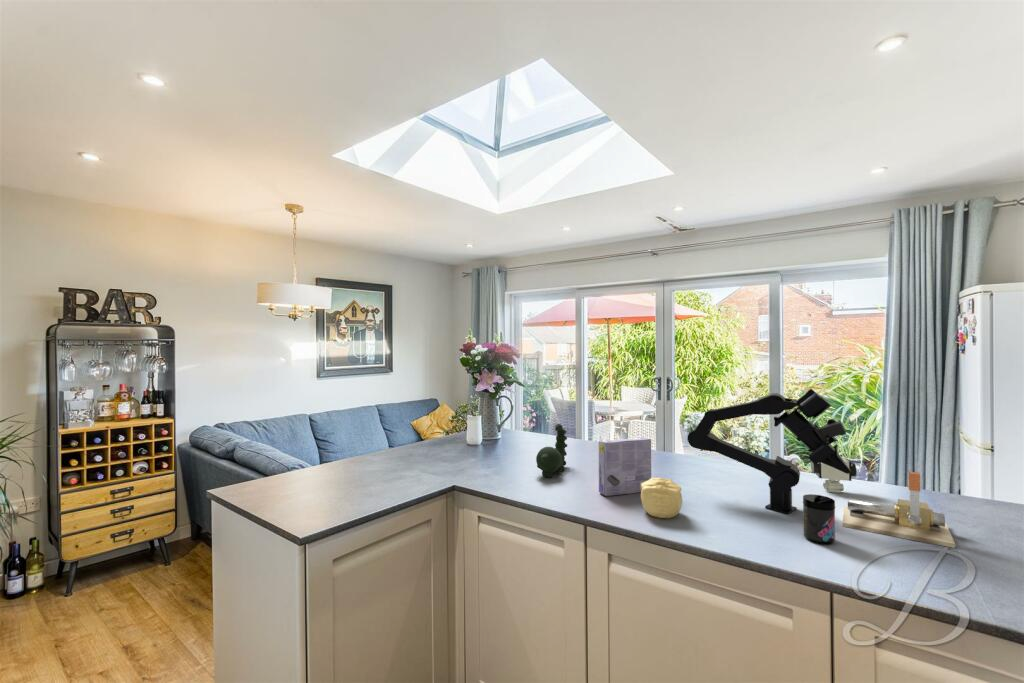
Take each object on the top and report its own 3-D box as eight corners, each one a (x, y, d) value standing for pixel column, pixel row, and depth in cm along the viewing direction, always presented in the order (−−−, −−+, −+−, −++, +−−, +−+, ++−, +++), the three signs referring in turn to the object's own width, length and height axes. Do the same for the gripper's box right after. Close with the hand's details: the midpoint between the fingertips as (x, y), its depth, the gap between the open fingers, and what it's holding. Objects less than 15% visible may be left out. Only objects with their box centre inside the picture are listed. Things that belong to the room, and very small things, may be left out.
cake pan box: (646, 486, 158) (645, 435, 158) (655, 490, 154) (654, 438, 154) (597, 492, 152) (596, 440, 152) (605, 497, 148) (604, 443, 148)
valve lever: (907, 525, 118) (907, 472, 118) (907, 522, 120) (906, 471, 120) (922, 527, 116) (921, 474, 116) (921, 525, 118) (920, 472, 118)
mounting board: (842, 526, 123) (842, 522, 123) (844, 509, 135) (844, 506, 135) (955, 548, 110) (955, 543, 110) (946, 527, 122) (946, 523, 122)
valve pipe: (847, 516, 128) (847, 496, 128) (848, 510, 132) (848, 491, 132) (945, 533, 115) (945, 511, 115) (942, 527, 119) (942, 505, 119)
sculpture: (639, 519, 129) (639, 481, 129) (642, 505, 141) (642, 470, 141) (682, 524, 125) (682, 485, 125) (682, 509, 137) (681, 473, 137)
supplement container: (813, 545, 112) (812, 503, 112) (797, 534, 119) (797, 494, 119) (841, 546, 111) (841, 503, 111) (824, 534, 118) (824, 494, 118)
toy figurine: (550, 468, 188) (529, 479, 165) (551, 421, 190) (530, 427, 167) (572, 470, 185) (554, 482, 162) (573, 423, 186) (555, 428, 163)
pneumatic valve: (857, 496, 146) (856, 458, 146) (814, 491, 151) (813, 455, 151) (851, 490, 151) (851, 454, 151) (810, 486, 156) (810, 451, 156)
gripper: (823, 415, 122) (876, 462, 115) (827, 406, 137) (874, 448, 130) (789, 440, 127) (838, 487, 120) (796, 430, 142) (840, 471, 135)
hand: (849, 472), depth 126 cm, fingers closed
